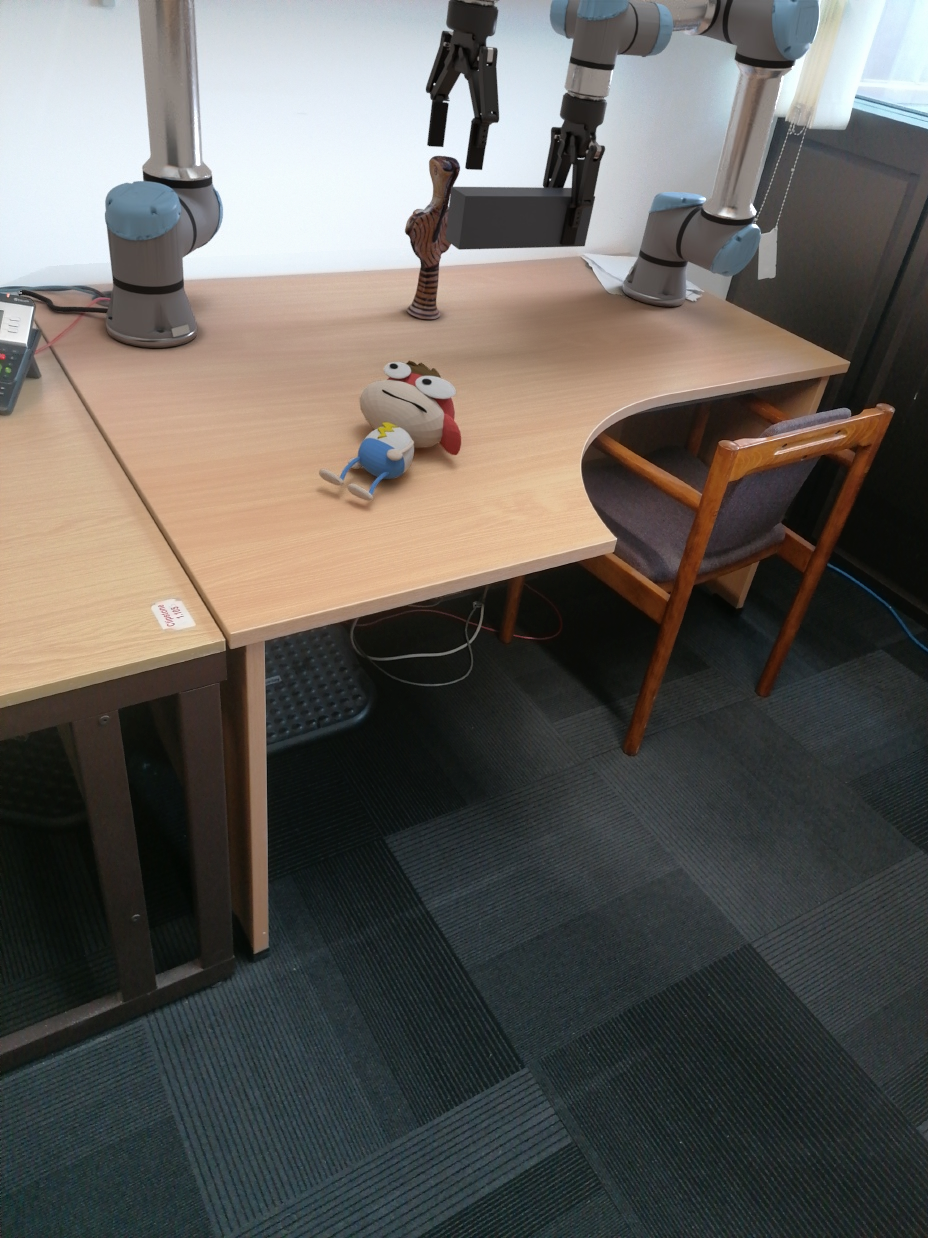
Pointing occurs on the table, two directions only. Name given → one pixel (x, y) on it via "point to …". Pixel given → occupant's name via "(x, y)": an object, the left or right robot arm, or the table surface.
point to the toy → (402, 423)
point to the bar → (511, 217)
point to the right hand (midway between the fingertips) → (558, 238)
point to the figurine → (431, 235)
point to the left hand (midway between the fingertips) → (453, 157)
